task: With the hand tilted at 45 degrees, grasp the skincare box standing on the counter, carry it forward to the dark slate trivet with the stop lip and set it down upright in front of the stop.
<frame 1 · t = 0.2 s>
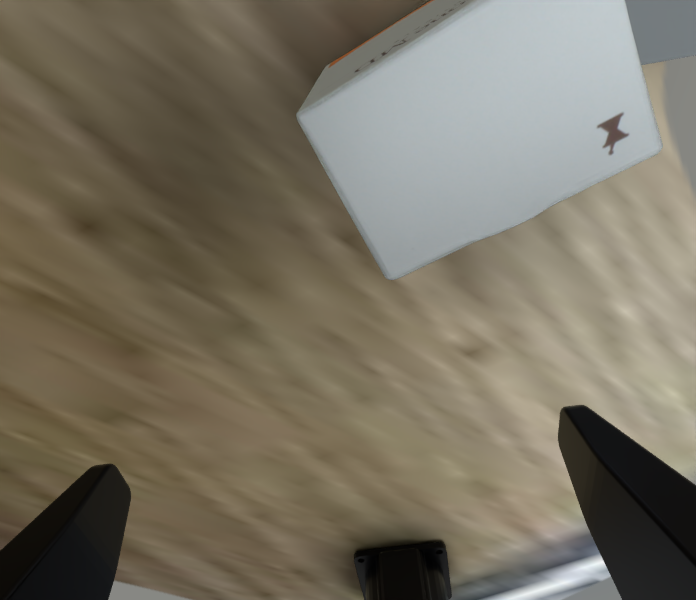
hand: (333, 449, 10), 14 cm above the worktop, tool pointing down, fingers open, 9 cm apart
skincare box: (409, 76, 20), on the worktop
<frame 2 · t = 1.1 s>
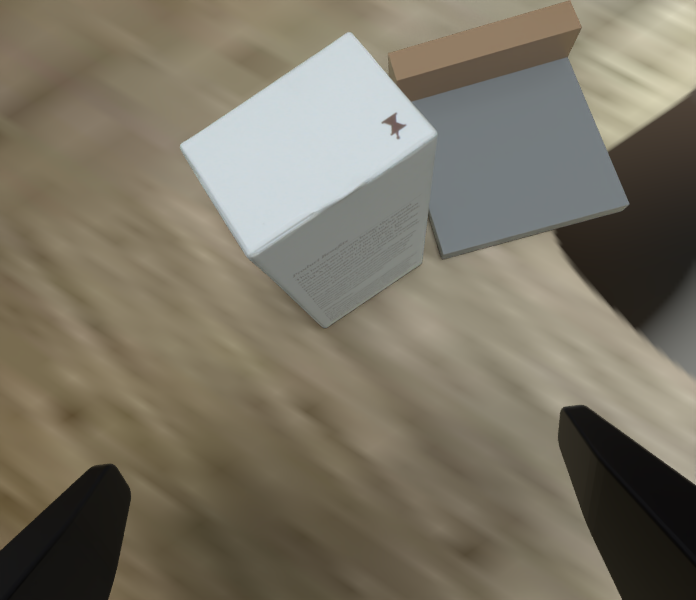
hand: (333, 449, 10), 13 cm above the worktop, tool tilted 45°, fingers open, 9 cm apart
trivet: (499, 147, 25), on the worktop
skincare box: (350, 265, 25), on the worktop
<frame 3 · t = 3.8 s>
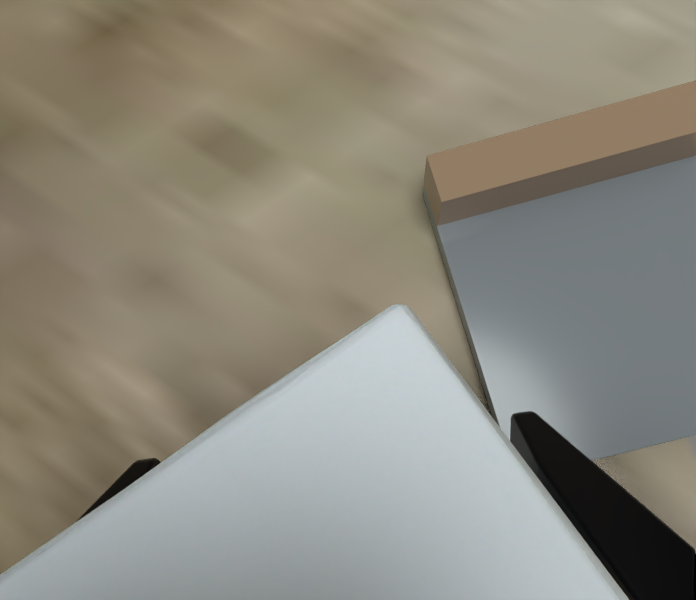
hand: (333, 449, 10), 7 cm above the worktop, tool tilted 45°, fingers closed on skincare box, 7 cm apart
trivet: (593, 290, 16), on the worktop
skincare box: (365, 476, 16), on the worktop, touching gripper
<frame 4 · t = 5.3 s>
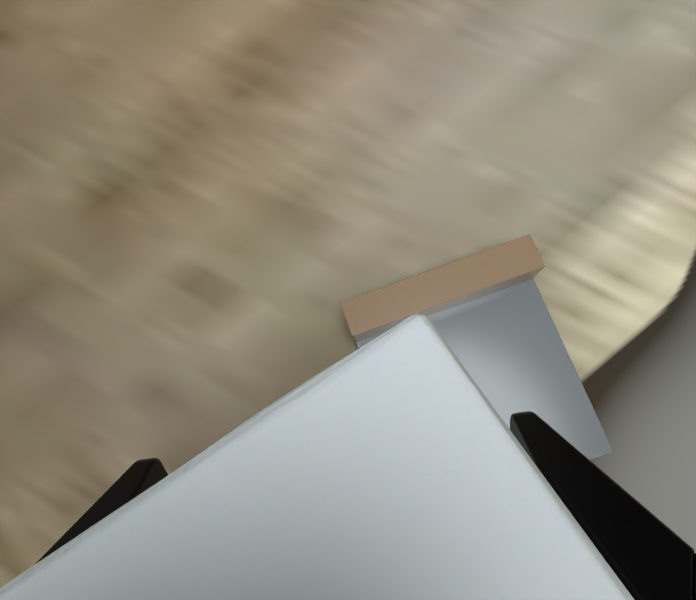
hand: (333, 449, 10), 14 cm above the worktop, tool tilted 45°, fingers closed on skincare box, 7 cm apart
trivet: (469, 378, 23), on the worktop
skincare box: (356, 477, 16), point 7 cm above the worktop, touching gripper
when the fingers open (8 cm above the worktop, at t = 7.1 s): skincare box stays where it is, resting on trivet.
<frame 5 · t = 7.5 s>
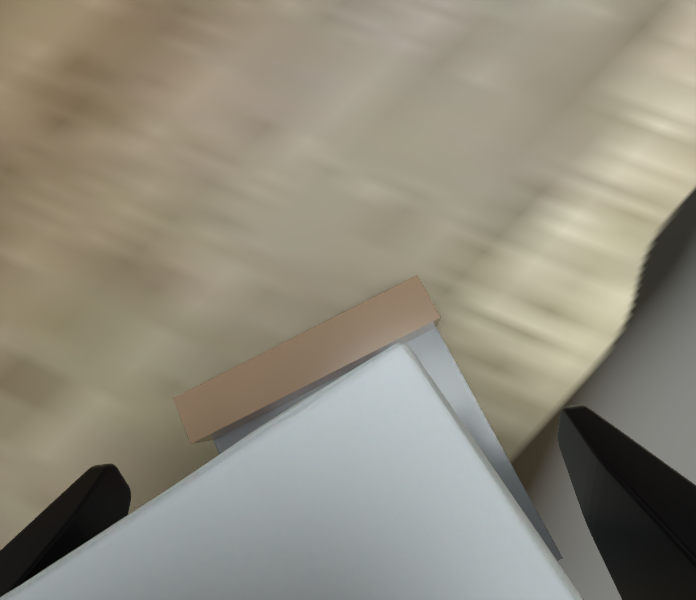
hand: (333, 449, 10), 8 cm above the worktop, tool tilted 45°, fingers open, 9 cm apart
trivet: (368, 470, 18), on the worktop
skincare box: (364, 479, 17), point 1 cm above the worktop, touching trivet
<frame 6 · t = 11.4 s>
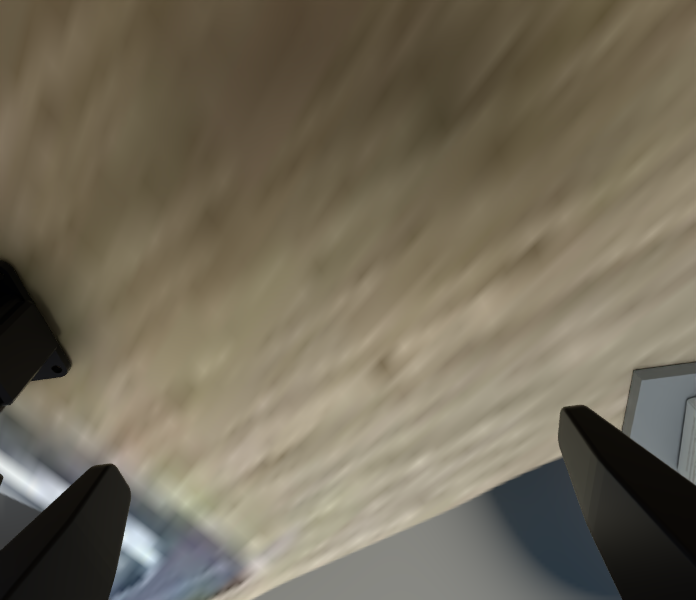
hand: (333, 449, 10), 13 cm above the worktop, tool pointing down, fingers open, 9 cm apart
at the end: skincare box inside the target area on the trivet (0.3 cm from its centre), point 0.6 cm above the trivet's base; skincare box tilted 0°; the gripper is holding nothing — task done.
